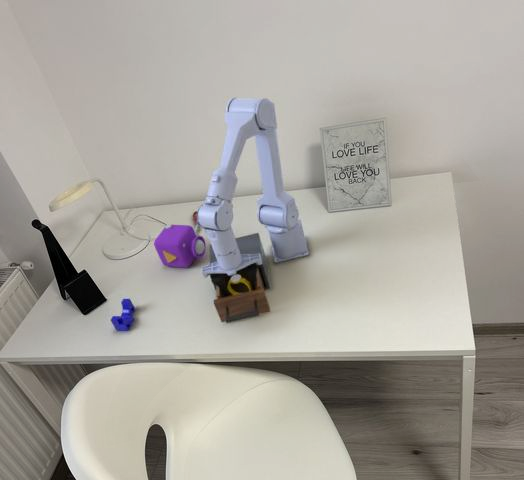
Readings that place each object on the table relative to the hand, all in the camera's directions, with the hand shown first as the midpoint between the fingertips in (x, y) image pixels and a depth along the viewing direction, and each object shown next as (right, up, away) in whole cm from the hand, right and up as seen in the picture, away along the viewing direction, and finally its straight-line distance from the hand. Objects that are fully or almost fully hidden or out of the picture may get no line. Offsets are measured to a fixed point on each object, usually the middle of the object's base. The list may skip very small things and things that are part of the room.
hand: (240, 290), depth 137 cm
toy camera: (-16, +10, +24) cm, 30 cm away
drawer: (+1, -4, +1) cm, 4 cm away
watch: (0, -1, +1) cm, 2 cm away
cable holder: (-30, -8, +10) cm, 33 cm away
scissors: (-15, +21, +35) cm, 44 cm away
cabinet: (0, +4, +11) cm, 11 cm away
